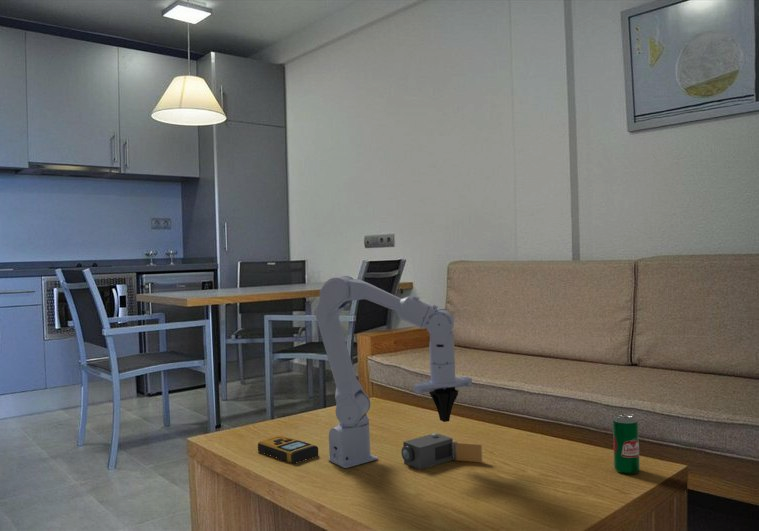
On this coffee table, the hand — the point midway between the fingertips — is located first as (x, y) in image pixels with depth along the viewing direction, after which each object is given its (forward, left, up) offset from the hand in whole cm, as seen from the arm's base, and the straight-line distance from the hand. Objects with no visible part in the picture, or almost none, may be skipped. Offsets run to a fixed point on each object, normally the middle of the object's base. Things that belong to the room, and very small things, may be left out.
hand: (444, 420), depth 143 cm
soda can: (+25, -31, -10) cm, 40 cm away
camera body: (-2, +3, -10) cm, 11 cm away
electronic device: (-24, +32, -11) cm, 42 cm away
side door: (+4, -3, -10) cm, 11 cm away
